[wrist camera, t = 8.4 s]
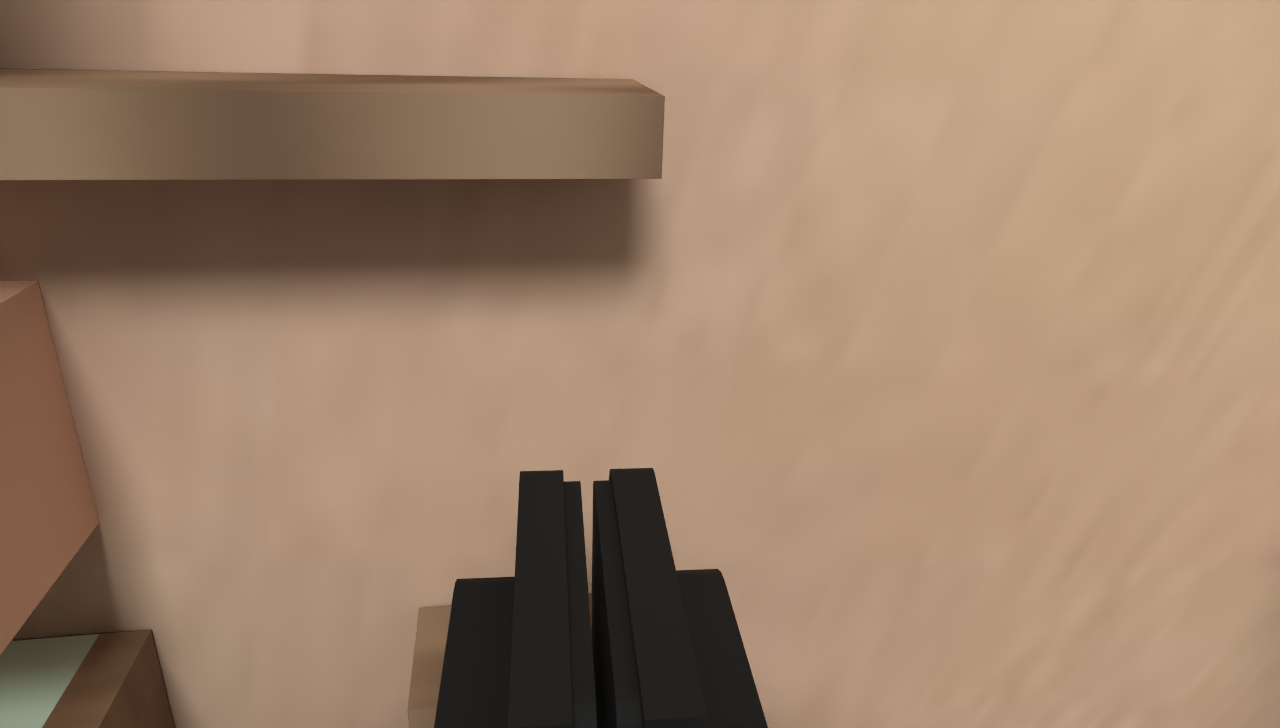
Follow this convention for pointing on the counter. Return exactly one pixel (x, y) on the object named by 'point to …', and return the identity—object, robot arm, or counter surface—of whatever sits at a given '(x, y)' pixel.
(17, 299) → the block
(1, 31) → the counter surface
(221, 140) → the channel
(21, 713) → the end bay
